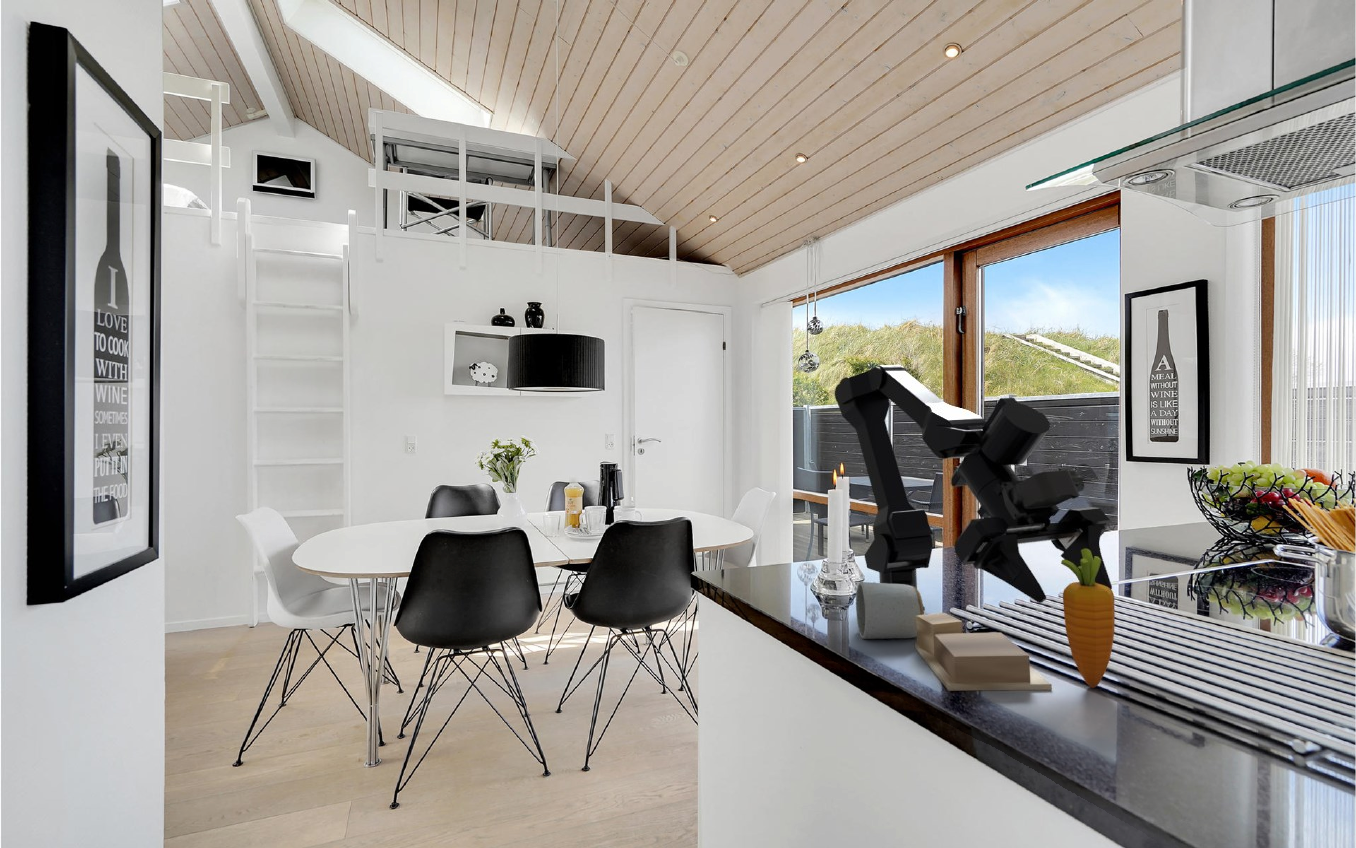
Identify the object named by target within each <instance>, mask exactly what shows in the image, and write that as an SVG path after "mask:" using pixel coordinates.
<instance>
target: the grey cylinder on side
mask: <svg viewBox="0 0 1356 848" xmlns="http://www.w3.org/2000/svg"><path fill="white" fill-rule="evenodd" d="M923 606H924V604H923V598H922V596H921V593H920V591H919V589H918V588H917V589H916V588H915V587H913V586H909V585H905V584H887V583H880V582H871V581H870V582H869V581H868V582H867V581H860V582H858V585H857V588H856V593H855V611H856V623H857V628H858V632H859V635H860V637H861V638H862V639H863V640H870V639H871V640H873V639H874V640H875V639H878V640H879V639H880V640H881V639H886V640H887V639H911V638H915V637H916V638H917V624H916V616H917V615H925V610H924V609H923Z"/></svg>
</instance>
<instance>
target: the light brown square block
mask: <svg viewBox="0 0 1356 848" xmlns="http://www.w3.org/2000/svg"><path fill="white" fill-rule="evenodd" d="M934 649H935V659H936V660H937V661H938V662H939V664H940V665H941V666H942V667H943V668H944V670H945V671H946V672H947V673H948V674H949V676H950V677H951V678H952V679H953V681H954V682H955V683H1031V682H1030V666H1031V665H1030V663H1031V662H1030V655H1029V654H1028V653H1027V652H1026V651H1024V649H1022V648H1021V647H1019V646H1018V645H1017V644H1016V643H1014V642H1013V641H1012V640H1011V639H1009V638H1008V637H1007V636H1006V635H1005V634H1003V633H1002V632H971V633H970V632H968V633H967V632H963V633H952V634H934Z"/></svg>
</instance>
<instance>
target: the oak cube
mask: <svg viewBox="0 0 1356 848" xmlns="http://www.w3.org/2000/svg"><path fill="white" fill-rule="evenodd" d="M916 624H917V636H916V641H917V644H918V647H920V648H921V649H923V650H925V651H926V652H928V653H930V654H931V655H933V656H935V649H934V634H952V633H964V632H963V621H962V620H960V619H959V618H956V617H954V616H952V615H950V614H947V613H946V612H937V613H928V614H924V615H917V616H916Z"/></svg>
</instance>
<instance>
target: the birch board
mask: <svg viewBox="0 0 1356 848" xmlns="http://www.w3.org/2000/svg"><path fill="white" fill-rule="evenodd" d="M914 649H915V650H916V651H917V652H918V654H919V655H920V656H921V658H923V660H924V661H925V662H926V664H927V666H928V667H930V669H931V670H932V672H933V673H934V674H935V676H936V677H937V678H938V680H939V681H940V682H941V683H942V684H943V686H944V687H945V688H946V690H947V691H948V692H949V691H1030V690H1031V691H1036V690H1037V691H1047V690H1049V691H1050V690H1053V687H1052V686H1053V683H1051V682H1050V681H1049V680H1048V679H1046V678H1045V677H1044V676H1043V675H1041V674H1040V673H1039V672H1038V671H1036V670H1035V669H1034V668H1033V667H1032V666H1031V665H1030V682H1031V683H955V682H954V681H953V679H952V678H951V677H950V676H949V674H948V673H947V672H946V671H945V670H944V668H943V667H942V666H941V665H940V664H939V662H938V661H937V660H936V659H935V656H933V655H931V654H930V653H928V652H926V651H925V650H923V649H921V648H920V647H918V644H917V643H914Z"/></svg>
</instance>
